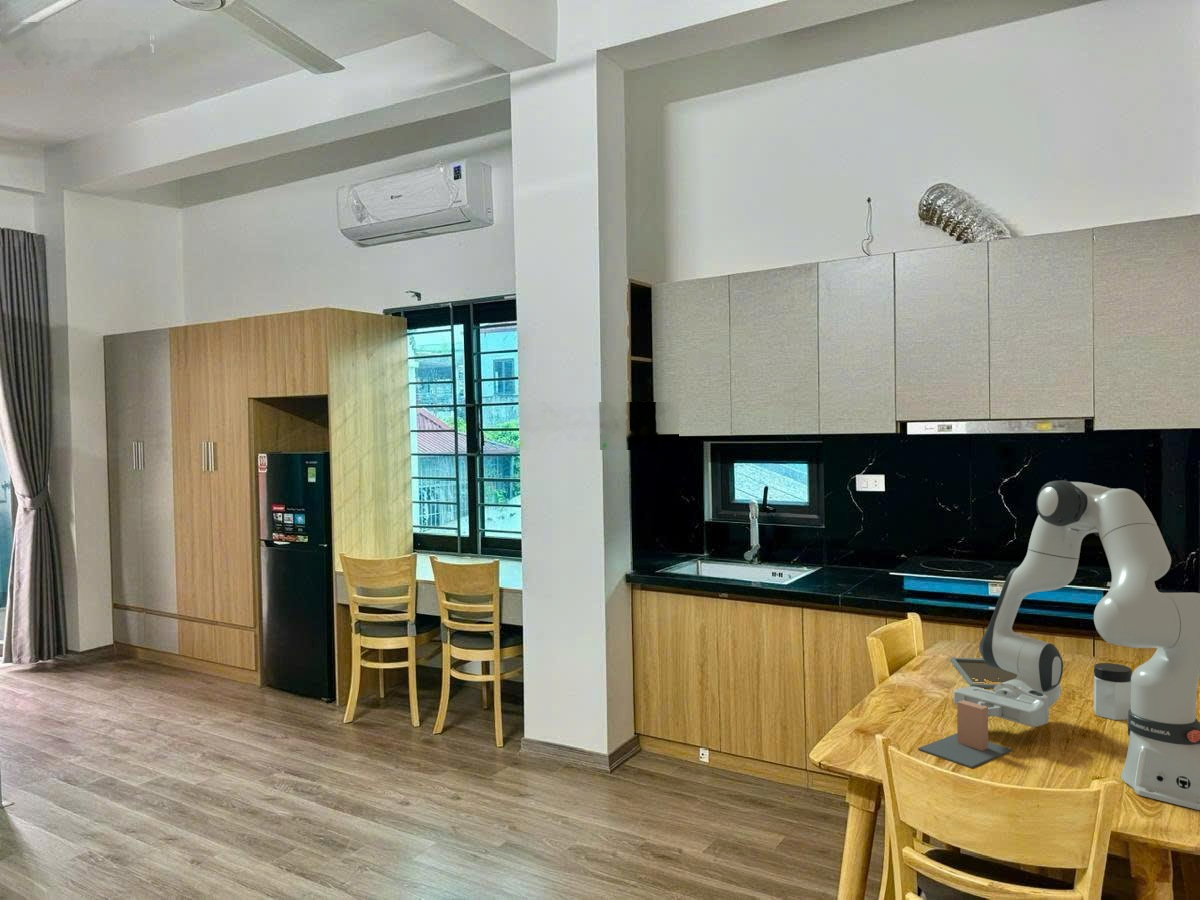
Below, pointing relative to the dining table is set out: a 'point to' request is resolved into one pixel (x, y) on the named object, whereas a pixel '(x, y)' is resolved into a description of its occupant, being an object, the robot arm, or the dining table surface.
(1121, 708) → the jar
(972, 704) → the block
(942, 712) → the dining table surface
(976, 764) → the mat
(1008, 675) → the grey picture frame
